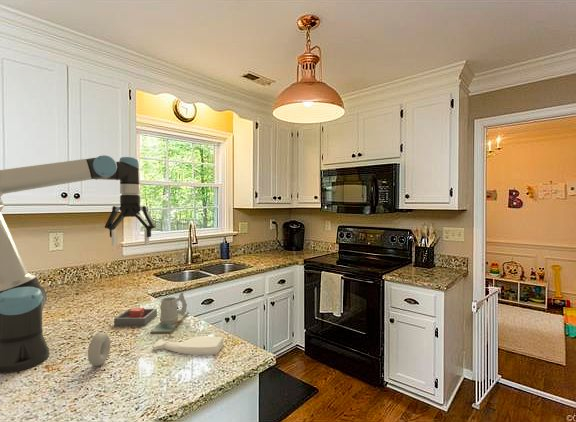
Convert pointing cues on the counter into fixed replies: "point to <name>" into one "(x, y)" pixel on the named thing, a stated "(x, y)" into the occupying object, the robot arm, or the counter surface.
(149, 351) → the counter surface
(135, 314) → the die
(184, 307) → the mug
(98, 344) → the donut
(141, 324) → the tray
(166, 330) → the board
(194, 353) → the beige tapered paddle
